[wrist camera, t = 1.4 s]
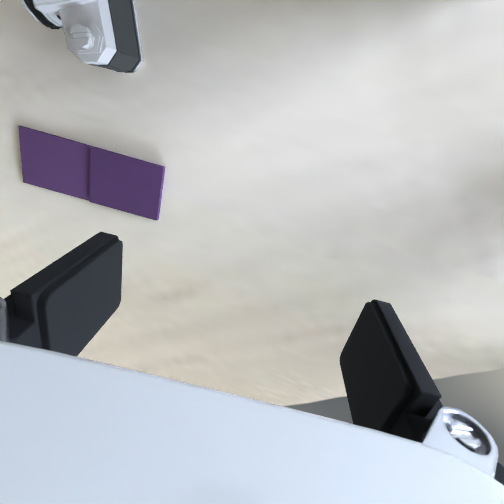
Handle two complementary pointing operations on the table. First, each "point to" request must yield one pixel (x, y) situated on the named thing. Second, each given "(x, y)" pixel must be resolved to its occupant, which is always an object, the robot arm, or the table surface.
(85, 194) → the purple flat rectangular piece
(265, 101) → the table surface
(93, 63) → the camera
